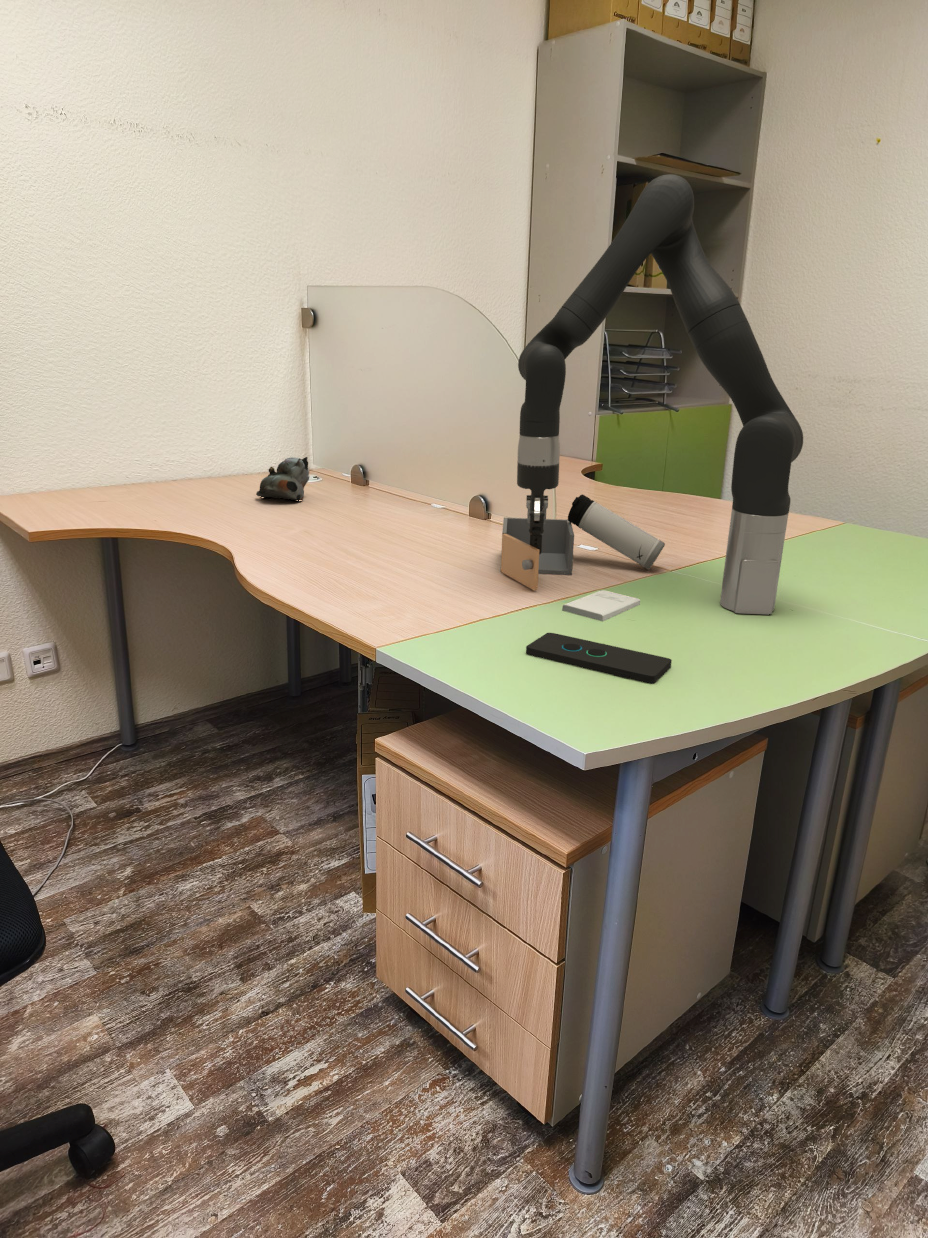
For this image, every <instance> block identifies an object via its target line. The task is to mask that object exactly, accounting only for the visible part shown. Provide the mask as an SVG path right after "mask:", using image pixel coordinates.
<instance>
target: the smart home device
mask: <svg viewBox="0 0 928 1238" xmlns="http://www.w3.org/2000/svg"><path fill="white" fill-rule="evenodd" d="M525 654H526V655H527V656H530V657H536V658H539V659H544V660H549V661H551V662H556V663H561V664H564V665H569V666H573V667H578V668H582V669H585V670H590V671H593V672H598V673H603V674H606V675H609V676H614V677H615V676H616V677H620V678H624V679H628V680H632V681H635V682H641V683H644V684H650V685H651V684H652V685H653V684H656V682H658V681H659V680H660V679H661V678H662V677H663V676H664V674H666V673H667V672H668V671H669V669H671V667H672V661H673V660H672V659H671V658H668V657H664V656H660V655H655V654H651V653H647V652H642V651H637V650H633V649H628V648H623V647H619V646H616V645H610V644H605V643H601V642H596V641H592V640H588V639H587V640H586V639H582V638H579V637H573V636H569V635H565V634H559V633H555V632H546V633H545V634H543V635H542V636H541V635H540V637H538V638H536V639H535V640H533V641H532V642H530V643H528V645H526V646H525Z"/></svg>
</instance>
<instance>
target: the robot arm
mask: <svg viewBox="0 0 928 1238" xmlns="http://www.w3.org/2000/svg"><path fill="white" fill-rule="evenodd" d="M694 210H695V196H694V191H693V189H692V187H691V185H690V183H689V182H688V180H686V179H685V178H684V177H682V176H680V175H678V174H674V173H673V174H671V173H669V174H662V175H659V176H657V177H655V178H653V179H652V180H650V182H649V183H647V184H646V185H645V187H644V188H643V190H642V191H641V193H640V195H639V197H638V199H637V200H636V202H635V204H634V206H633V207H632V209H631V210H630V213H629V214H628V216H627V218H626V220H625V221H624V223H623V225H622V226H621V227H620V229H619V231H618V232H617V233H616V235H615V237H614V238H613V240H612V242H611V243H610V244H609V246H608V247H607V248H606V250H605V251H604V253H603V254H602V255H601V256H600V258H599V259H598V260H597V261H596V263H595V264H594V266H593V267H592V268H591V270H589V272H588V273H587V275H586V276H585V277H584V278H583V279H582V281H581V282H580V283H579V285H577V287H576V288H575V290H574V291H573V292H572V293H571V294H570V296H569V297H568V298H567V299H566V301H565V302H564V303H563V304H562V305H561V307H560V308H559V309H558V311H557V313H556V314H555V315H554V317H553V318H552V319H551V320H550V321H549V322H548V323H547V324H545V326H544V327H543V328H541V330H540V331H538V332H537V334H536V335H535V336H534V337H533V338H532V339H531V340H530V341H529V342H528V343H527V344H526V346H525V347H524V348H523V350H522V352H521V353H520V355H519V358H518V363H517V367H518V371H519V374H520V376H521V378H522V379H523V380H525V391H524V392H525V393H524V402H523V403H522V405H521V407H520V411H519V412H520V414H519V438H518V444H517V468H516V469H517V471H516V484H517V486H518V487H519V488H521V489H525V490H530V491H531V492H530V494H527V495H526V499H525V500H526V502H525V503H526V505H525V506H526V509H527V514H526V515H527V517H526V518H527V522H528V523H529V525H530V528H529V533H530V545H531V546H533V547H535V548H537V549H539V554H541V552H542V535H543V533H544V528H543V524H544V523H546V519H547V509H548V508H549V495H545V491H546V490H553V489H555V488H557V487H558V486H559V482H560V481H559V480H560V479H559V478H560V453H561V445H560V423H561V421H560V417H561V415H560V411H561V409H560V408H561V404H562V401H563V400H562V399H563V394H564V389H565V383H566V376H567V375H566V373H567V371H566V370H567V368H566V365H567V364H566V359H567V358H568V357H569V355H570V354H571V353H572V352H573V351H574V350H575V349H576V348H578V347H580V346H583V345H584V344H586V342H587V341H588V340H589V339H590V337H592V335H593V334H594V333H595V332H596V330H597V329H598V328H599V327H600V325H601V324H603V322H604V321H605V319H606V318H607V317H608V316H609V314H610V313H611V311H613V309H614V307H615V306H616V304H617V303H618V301H619V300H620V298H621V296H622V295H623V293H624V292H625V290H626V288H627V287H628V285H629V284H630V282H631V280H632V279H633V277H634V276H635V275H636V273H637V271H638V270H639V269H640V267H641V266H642V264H644V262H645V261H646V259H647V258H648V257H649V256H650V255H651V256H652V257H653V259H654V262H655V263H656V265H657V266H658V267H659V269H660V271H661V273H662V274H663V276H664V278H665V280H666V283H667V284H668V287H669V289H670V294H671V295H672V298H673V300H674V303H675V307H676V308H677V311H678V314H679V316H680V318H681V321H682V323H683V325H684V327H685V332H686V333H687V334H688V337H689V339H690V343H692V347H693V348H694V350H695V352H696V354H697V355H698V357H699V359H700V361H701V362H702V364H703V366H704V367H705V368H706V370H707V371H708V372H709V373H710V375H711V376H712V377H713V379H714V380H715V381H716V383H718V384H719V386H720V387H721V388H722V389H723V390H724V392H726V394H727V395H728V397H729V398H730V400H731V402H732V403H733V405H734V408H735V410H736V411H737V414H738V416H739V418H740V421H741V423H742V428H741V429H740V431H739V433H738V435H737V439H736V441H735V448H734V454H733V462H732V463H733V464H732V476H731V484H730V485H731V486H730V487H731V489H730V491H731V496H732V504H731V505H732V506H731V513H730V519H729V521H730V522H729V529H728V535H727V545H726V552H725V557H724V558H725V561H724V566H723V567H724V568H723V573H722V574H723V576H722V582H721V583H722V584H721V592H720V599H719V604H720V606H722V607H723V608H725V609H726V610H729V611H732V612H734V613H735V614H743V615H744V614H748V615H769V614H771V615H772V613H773V611H774V610H775V606H776V600H777V593H778V586H779V578H780V572H781V566H782V565H781V564H782V561H783V560H782V559H783V552H784V547H785V546H784V545H785V540H786V539H785V538H786V532H787V526H788V519H789V513H790V507H791V500H792V499H791V496H790V494H789V492H790V491H789V483H790V476H791V475H790V474H791V469H792V468H791V467H792V463H793V462H794V461H795V460H796V459H797V458H798V457H799V455H800V454H801V451H802V450H803V447H804V432H803V429H802V426H801V425H800V423H799V422H798V420H797V418H796V417H795V415H794V413H793V412H792V410H791V409H790V407H789V406H788V404H787V402H786V401H785V399H784V397H783V396H782V394H781V392H780V391H779V389H778V387H777V386H776V384H775V382H774V380H773V378H772V376H771V373H770V371H769V367H768V366H767V363H766V360H765V358H764V355H763V352H762V350H761V348H760V345H759V344H758V342H757V339H756V337H755V335H754V332H753V329H752V327H751V325H750V322H749V320H748V318H747V316H746V314H745V312H744V310H743V308H742V306H741V303H740V301H739V300H738V298H737V296H736V295H735V293H734V291H733V290H732V288H731V287H730V286H729V284H728V283H727V282H726V281H725V280H724V279H723V277H722V276H721V274H719V273H718V272H717V271H716V269H715V268H714V267H713V265H712V264H711V263H710V261H709V259H708V257H707V256H706V254H705V252H704V250H703V247H702V244H701V242H700V239H699V237H698V234H697V231H696V228H695V225H694V221H693V215H694Z"/></svg>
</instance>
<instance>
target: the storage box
mask: <svg viewBox="0 0 928 1238" xmlns="http://www.w3.org/2000/svg"><path fill="white" fill-rule="evenodd" d="M502 522H503V523H502V531H501V535H502V534H508V535H510V536H512V537H514V538H516V539H518V540H520V541H522V542H524V543H526V544H529V545H530V533H529V528H530V525H529V523H528V522H527V517H503V521H502ZM543 528H544V533H543V535H542V552H541V554H539V569H538V575H540V574H541V575H561V576H562V575H565V576H566V575H567V576H569V575H570V576H572V574H573V563H574V562H573V560H574V546H575V533H574V528H573V524H572V523H571V522H569V521H568V519H563V518H559V519H557V518H556V519H554V518H546V523H544V524H543ZM500 557H501V559H500V560H502V554H501V556H500Z"/></svg>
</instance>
